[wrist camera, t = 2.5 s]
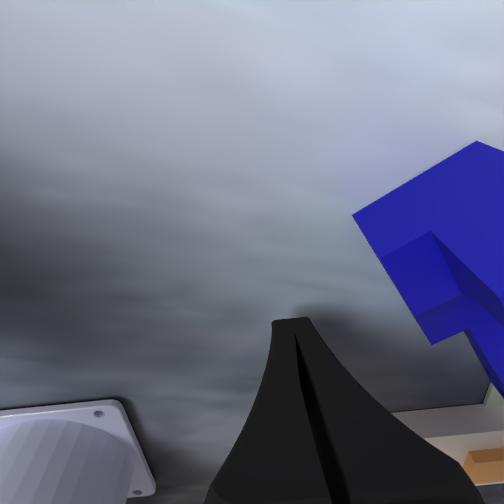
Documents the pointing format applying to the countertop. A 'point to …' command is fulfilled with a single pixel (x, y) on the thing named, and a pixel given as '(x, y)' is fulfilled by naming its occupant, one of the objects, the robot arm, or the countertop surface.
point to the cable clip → (449, 250)
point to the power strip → (464, 437)
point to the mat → (493, 397)
